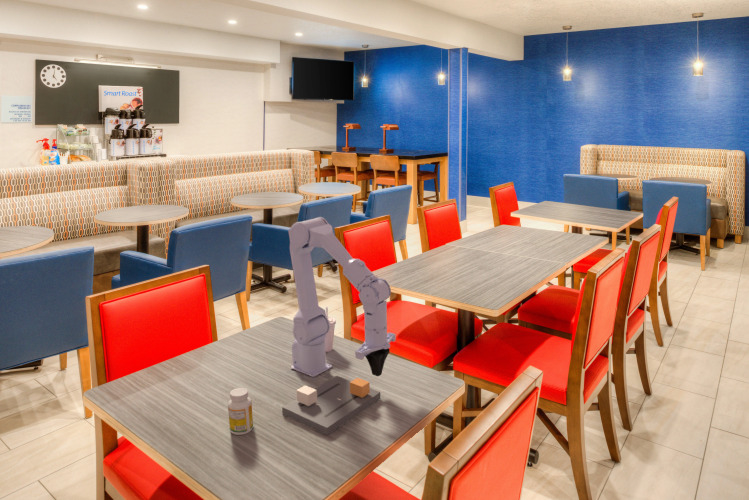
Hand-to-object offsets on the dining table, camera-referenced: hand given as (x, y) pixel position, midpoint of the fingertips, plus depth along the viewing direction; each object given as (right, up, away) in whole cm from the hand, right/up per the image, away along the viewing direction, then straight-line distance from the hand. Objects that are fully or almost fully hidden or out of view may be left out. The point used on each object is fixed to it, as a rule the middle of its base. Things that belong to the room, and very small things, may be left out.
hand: (376, 374), depth 138 cm
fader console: (-11, -7, -6) cm, 14 cm away
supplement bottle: (-32, -9, -15) cm, 36 cm away
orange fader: (-4, -4, -5) cm, 7 cm away
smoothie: (-16, +1, +27) cm, 31 cm away
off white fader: (-17, -5, -8) cm, 20 cm away
